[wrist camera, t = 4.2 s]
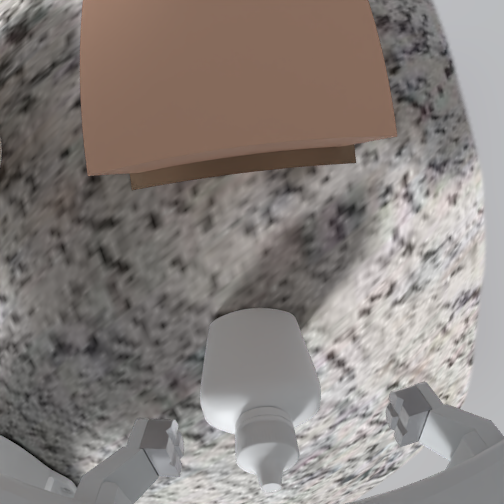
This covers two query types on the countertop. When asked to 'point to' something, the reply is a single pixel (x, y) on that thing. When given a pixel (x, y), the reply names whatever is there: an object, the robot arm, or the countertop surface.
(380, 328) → the countertop surface
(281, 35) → the terracotta top block
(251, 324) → the eye dropper bottle
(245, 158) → the walnut base block
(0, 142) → the lidded jar
